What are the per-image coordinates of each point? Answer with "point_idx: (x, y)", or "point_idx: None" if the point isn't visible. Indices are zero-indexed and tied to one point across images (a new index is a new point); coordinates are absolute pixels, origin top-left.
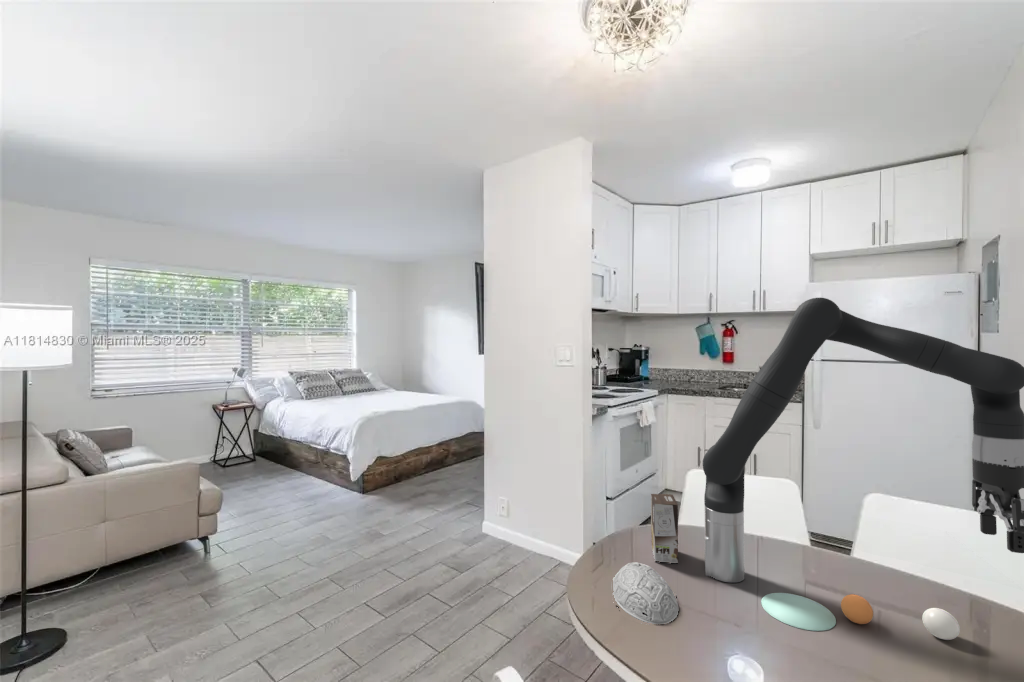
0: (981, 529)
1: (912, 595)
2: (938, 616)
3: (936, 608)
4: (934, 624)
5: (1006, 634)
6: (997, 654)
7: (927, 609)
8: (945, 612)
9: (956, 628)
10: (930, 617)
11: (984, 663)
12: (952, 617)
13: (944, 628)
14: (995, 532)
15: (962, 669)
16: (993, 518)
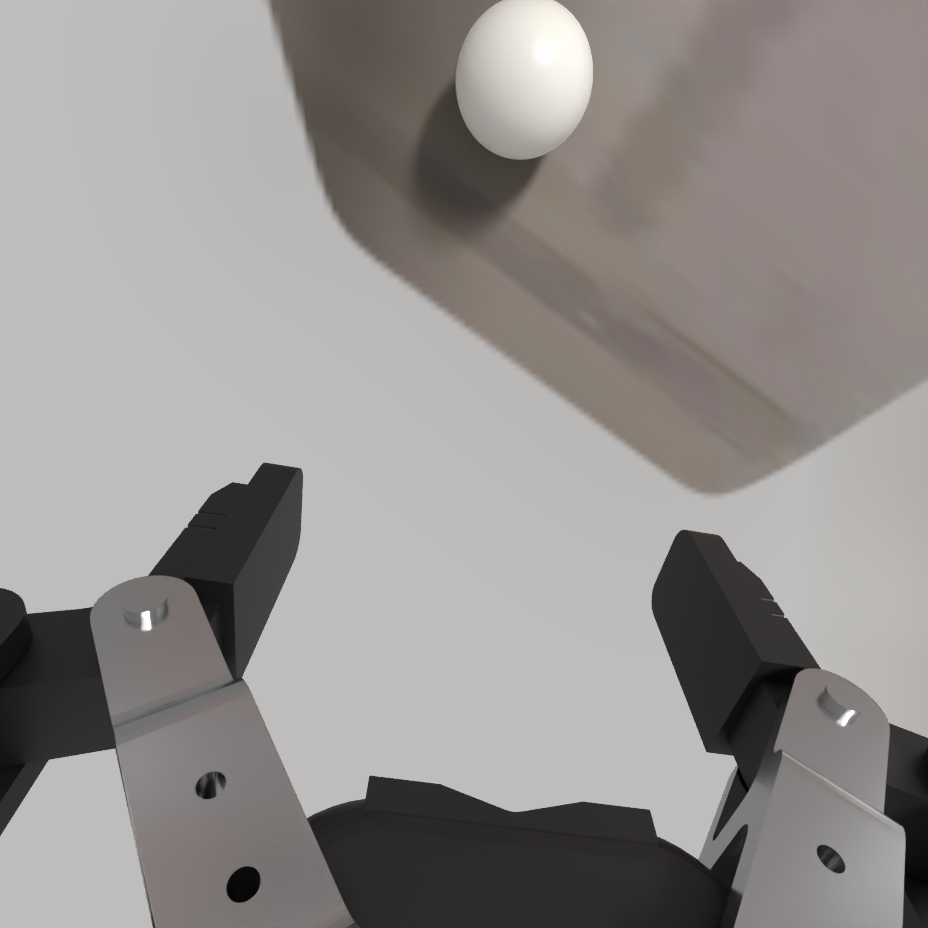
0: (710, 545)
1: (855, 197)
2: (491, 37)
3: (546, 65)
4: (483, 15)
5: (571, 378)
6: (438, 251)
7: (568, 30)
8: (510, 91)
9: (463, 116)
10: (508, 5)
11: (366, 153)
12: (495, 118)
13: (460, 53)
14: (659, 611)
15: (295, 16)
16: (709, 716)
